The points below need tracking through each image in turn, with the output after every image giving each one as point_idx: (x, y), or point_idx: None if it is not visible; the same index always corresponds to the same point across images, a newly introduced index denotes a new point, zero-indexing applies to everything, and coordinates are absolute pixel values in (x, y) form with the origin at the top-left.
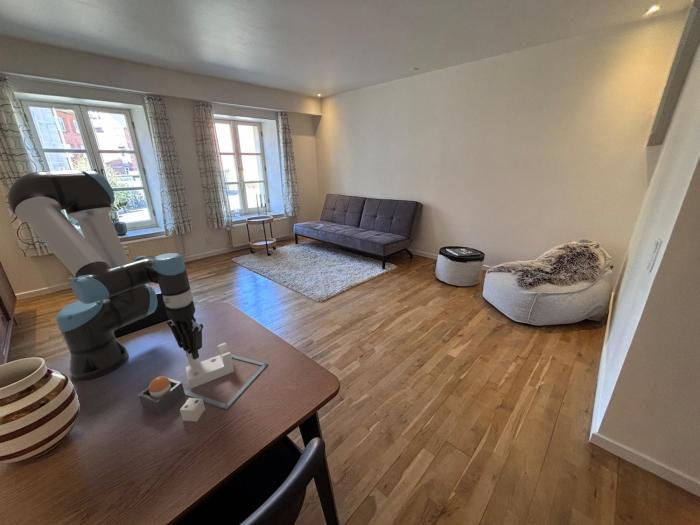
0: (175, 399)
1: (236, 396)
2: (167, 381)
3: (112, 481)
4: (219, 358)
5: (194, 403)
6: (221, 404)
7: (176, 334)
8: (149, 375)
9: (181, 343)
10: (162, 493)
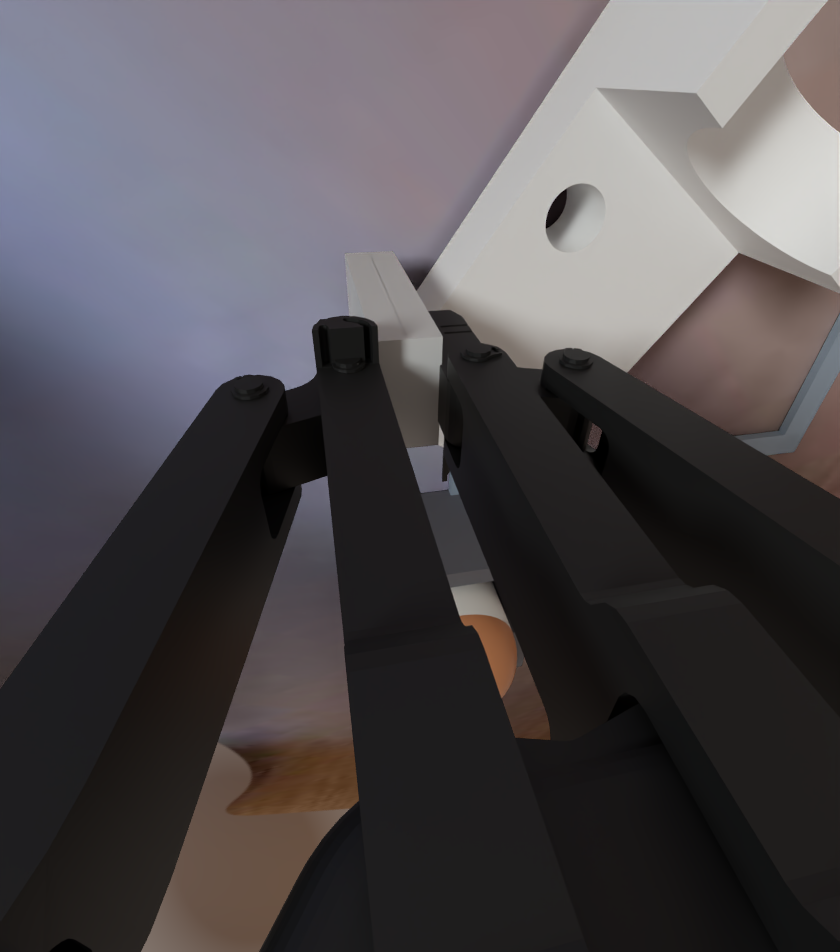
0: None
1: (830, 374)
2: (512, 649)
3: (537, 710)
4: (631, 158)
5: None
6: (759, 447)
7: (229, 696)
8: (57, 490)
9: (290, 510)
10: None
